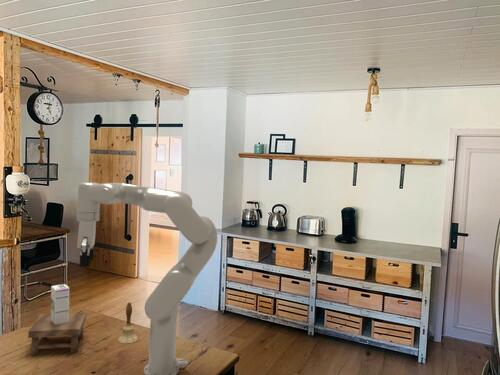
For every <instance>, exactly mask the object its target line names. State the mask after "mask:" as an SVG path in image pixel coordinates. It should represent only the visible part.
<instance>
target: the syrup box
mask: <svg viewBox="0 0 500 375" xmlns="http://www.w3.org/2000/svg"><path fill="white" fill-rule="evenodd" d="M50 288H51V289H50V314H51V322H52V323H53V324H54V325H58V324H63V323H68V322H69V313H70V286H68V285H67V284H66V283H62V284H61V283H60V284H56V285H51V287H50Z"/></svg>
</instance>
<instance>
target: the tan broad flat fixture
mask: <svg viewBox="0 0 500 375" xmlns="http://www.w3.org/2000/svg"><path fill="white" fill-rule="evenodd" d="M86 320H87V312H69V322H68V323H63V324H58V325H54V324H53V323H52V322H51V313H41V314H39V315H38V317H37V319H36V320H35V322H34V323H33V324H32V325H31V327H30V328H29V330H28V331H27V332H28V333H27V335H28V336H27V338H28V339H31V352H30V355H31V356H32V357H36V356H38V355H39V350H40V349H41V350H43V349H60V348H63V349H64V348H70V354H74V355H75V354H77V353H78V347H79V343H78V342H79V340H78V339H82V338H83V337H84V325H85V322H86ZM48 337H49V338H51V337H54V338H55V337H71V338H70V342H62V343H61V342H57V343H42V344H39V343H40V341H47V340H48Z"/></svg>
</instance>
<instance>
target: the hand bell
mask: <svg viewBox="0 0 500 375" xmlns="http://www.w3.org/2000/svg"><path fill="white" fill-rule="evenodd" d="M132 313H133V307H132V304H131V302H127V304H126V307H125V315H126V325H125V326H123V328H122V333H121V335H120V336H119V337H118V339H117V342H118V343H120V344H122V345H123V344H124V345H125V344H128V345H129V344H135V343H136V342H137V341H138V340H139V336H137V335H136V333H135V328H134V326H133V325H131V323H132V322H131V320H132V319H131V317H132Z"/></svg>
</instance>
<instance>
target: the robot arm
mask: <svg viewBox="0 0 500 375" xmlns="http://www.w3.org/2000/svg"><path fill="white" fill-rule="evenodd" d="M116 203H120V204H127V205H128V204H129V205H132V206H133V205H134V206H137V207H140V208H142V210H144V211H147V212H154V213H161V214H166V215H167V217H168V218H169V220H170V221H171V222H172V223H173V224H174V226H175V227H176V228H177V229H178V231H179V232H180V233H181V234H182V236H183V237H184V238H185V239H186V240H187V241H188V242H190V243H191V245H190V246H189V247H188V248H187V250H186V252H185V253H184V255H183V256H182V257H181V258H180V259H179V261H178V262H177V263H176V264H175V265H174V266H173V267H172V268H170V270H169V271H168V272H167V273H166V274H165V276H163V278H162V279H161V281H160V282H159V283H158V285H157V286H156V287H155V288H154V289H153V291H152V292H151V294H150V295H149V296H148V297H147V299H146V301H145V303H144V312H145V315H146V317H147V318H148V320H150V323H149V324H150V325H149V342H148V363H147V364H146V365H145V366H144V368H143V374H144V375H177V374H178V373H179V370H180V367H188V365H189V360H185V359H184V358H185V357H184V358H183V357H181V358H177V355H176V352H177V351H176V350H177V349H176V348H177V347H176V346H177V345H176V344H177V328H178V314H179V307H180V305H179V304H180V303H181V302H182V300H183V299H184V298H185V297H186V295H187V294H188V293H189V291H190V290H191V288H192V286H193V285H194V282H195V281H196V279H197V278H198V276H199V275H200V273H202V271H203V269H204V268H205V266H206V265H207V264H208V262H209V261H210V260H211V258H212V256H213V255H214V253H215V251H216V248H217V244H218V232H217V229H216V225H215V224H214V222H213V221H212V220H211V218H210V217H207V216H200V215H199V214H198V213H197V211H196V210H195V209H194V208H193V199H192V197H191V195H189V194H188V193H185V192H182V191H176V190H169V189H164V188H163V189H162V188H156V187H151V186H141V185H137V184H136V185H135V184H130V183H129V184H128V183H124V182H106V183H98V182H92V181H91V182H85V181H84V182H80V183H79V184H78V186H77V210H76V212H77V213H76V221H77V222H79V224H78V232H77V246H76V249H78V250H80V253H79V254H80V255H79V267H81V268H83V267H87V268H88V267H90V265H91V263H90V262H91V261H93V260H94V252H95V250H94V246H95V243H96V242H95V241H96V231H97V230H96V228H97V222H99V221H100V215H101V214H100V209H101V207H100V206H101V204H103V205H112V204H116Z"/></svg>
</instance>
